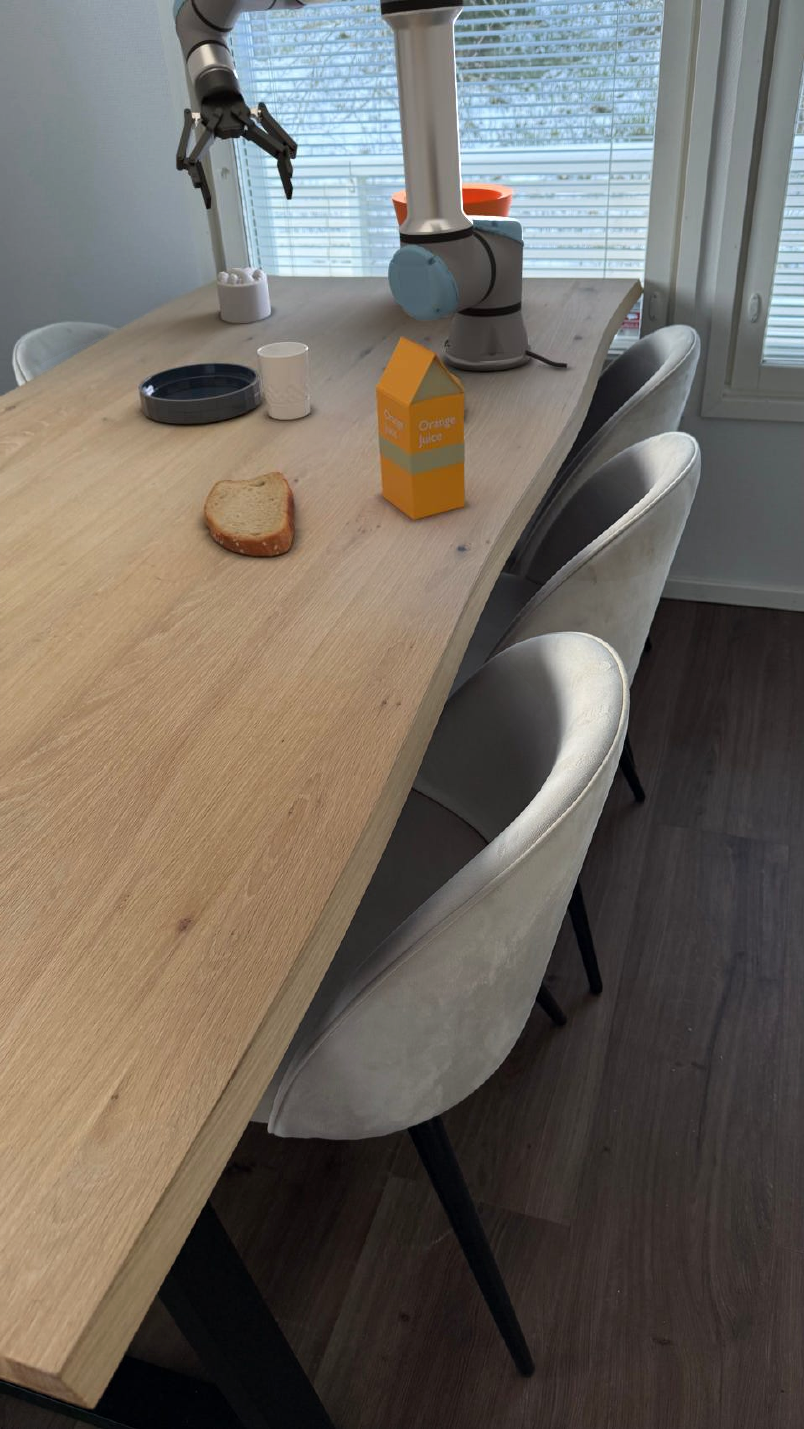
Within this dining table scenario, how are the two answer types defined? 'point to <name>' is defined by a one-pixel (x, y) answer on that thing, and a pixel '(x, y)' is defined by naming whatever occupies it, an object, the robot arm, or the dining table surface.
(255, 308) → the lumpy-topped squat cylinder
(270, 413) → the white cup
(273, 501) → the slice of bread
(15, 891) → the dining table surface
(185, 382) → the plate
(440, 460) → the orange juice
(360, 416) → the dining table surface
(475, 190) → the flowerpot
